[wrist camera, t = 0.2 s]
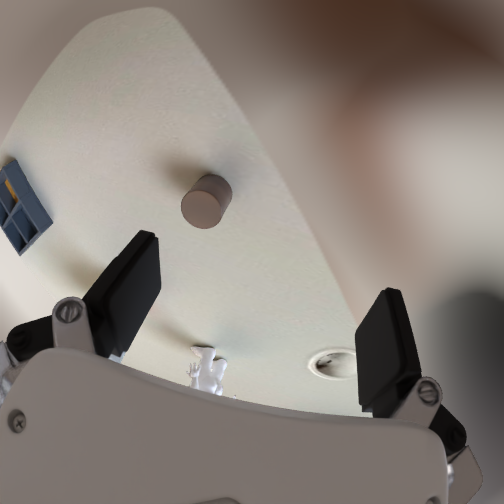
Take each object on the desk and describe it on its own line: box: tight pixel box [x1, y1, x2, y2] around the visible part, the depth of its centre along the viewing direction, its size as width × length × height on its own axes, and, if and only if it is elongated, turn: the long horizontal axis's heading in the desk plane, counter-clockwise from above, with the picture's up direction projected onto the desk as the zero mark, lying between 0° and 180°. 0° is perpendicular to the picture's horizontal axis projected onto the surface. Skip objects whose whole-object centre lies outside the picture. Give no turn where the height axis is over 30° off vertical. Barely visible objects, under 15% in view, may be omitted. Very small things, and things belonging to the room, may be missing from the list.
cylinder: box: [181, 175, 232, 229], centre depth 26 cm, size 4×4×4 cm
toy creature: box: [186, 346, 236, 399], centre depth 41 cm, size 12×6×12 cm, turn 28°
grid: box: [0, 160, 53, 256], centre depth 33 cm, size 13×13×3 cm
